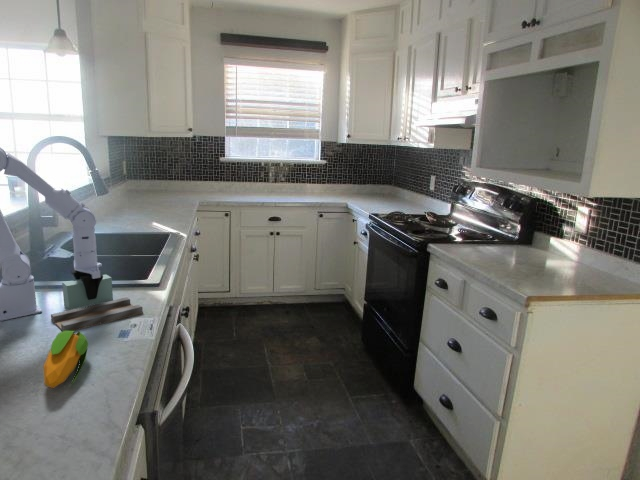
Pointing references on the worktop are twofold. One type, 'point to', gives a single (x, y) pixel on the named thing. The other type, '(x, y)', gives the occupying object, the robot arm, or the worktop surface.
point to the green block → (77, 293)
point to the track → (95, 314)
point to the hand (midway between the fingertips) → (88, 296)
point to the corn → (64, 357)
